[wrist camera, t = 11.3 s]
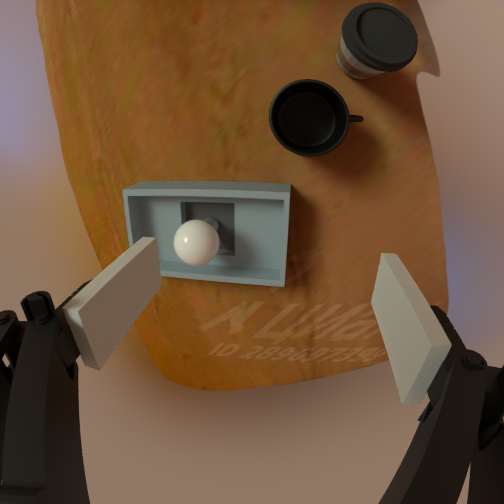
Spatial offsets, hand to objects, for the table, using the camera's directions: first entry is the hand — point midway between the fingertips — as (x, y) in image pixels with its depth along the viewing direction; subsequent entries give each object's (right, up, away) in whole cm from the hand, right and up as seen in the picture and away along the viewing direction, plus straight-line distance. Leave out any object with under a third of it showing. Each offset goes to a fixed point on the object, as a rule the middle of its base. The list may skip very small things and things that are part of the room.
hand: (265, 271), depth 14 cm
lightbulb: (-7, +5, +34) cm, 35 cm away
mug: (+9, +20, +25) cm, 33 cm away
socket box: (-7, +5, +34) cm, 35 cm away
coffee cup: (+15, +29, +21) cm, 38 cm away
